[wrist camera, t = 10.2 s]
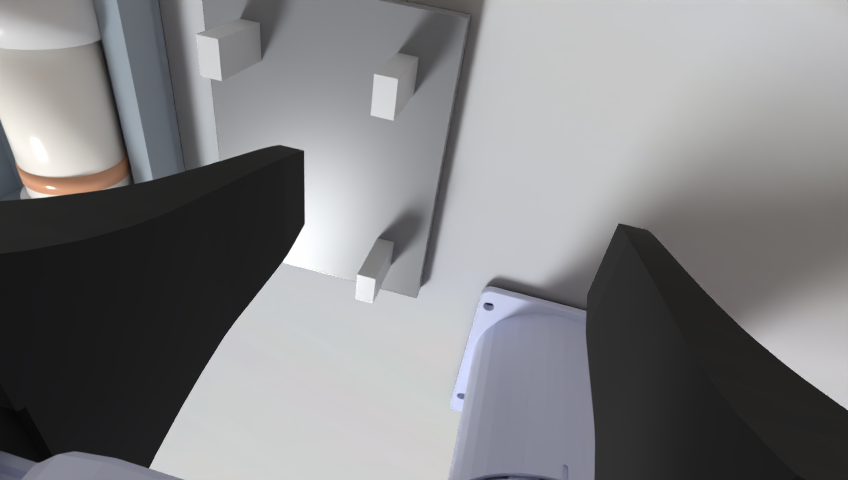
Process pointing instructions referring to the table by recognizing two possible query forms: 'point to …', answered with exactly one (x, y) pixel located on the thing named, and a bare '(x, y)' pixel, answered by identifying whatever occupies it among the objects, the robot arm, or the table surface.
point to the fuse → (59, 99)
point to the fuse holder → (343, 120)
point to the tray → (128, 94)
